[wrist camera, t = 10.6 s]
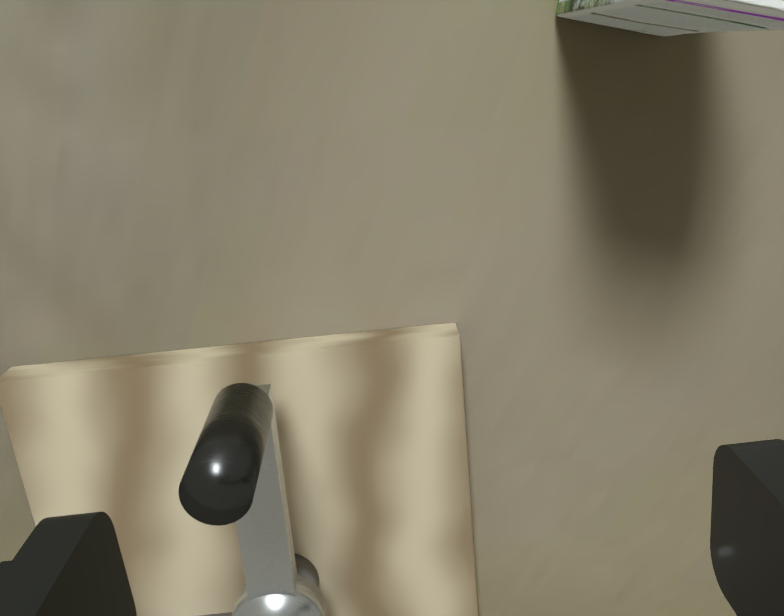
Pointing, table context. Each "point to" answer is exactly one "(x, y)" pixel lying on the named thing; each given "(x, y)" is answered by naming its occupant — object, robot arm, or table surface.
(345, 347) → the base
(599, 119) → the table surface
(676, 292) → the table surface
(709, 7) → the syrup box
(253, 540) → the lever
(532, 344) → the table surface
